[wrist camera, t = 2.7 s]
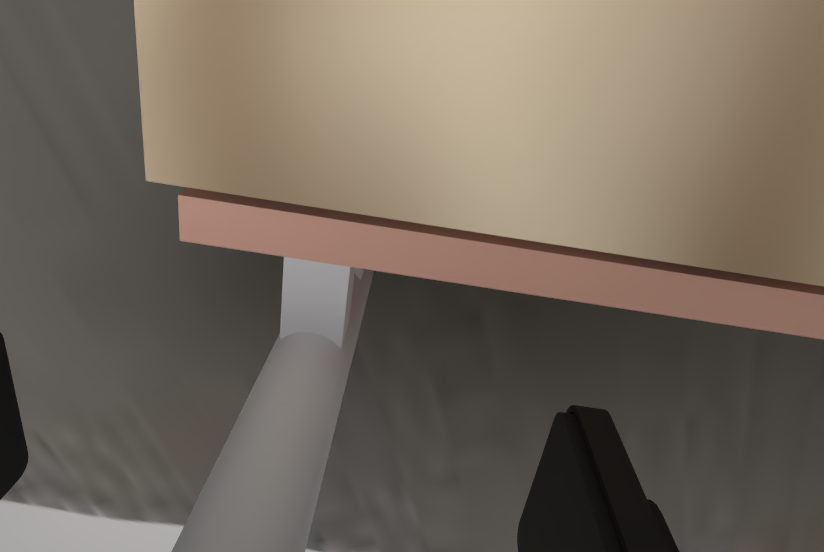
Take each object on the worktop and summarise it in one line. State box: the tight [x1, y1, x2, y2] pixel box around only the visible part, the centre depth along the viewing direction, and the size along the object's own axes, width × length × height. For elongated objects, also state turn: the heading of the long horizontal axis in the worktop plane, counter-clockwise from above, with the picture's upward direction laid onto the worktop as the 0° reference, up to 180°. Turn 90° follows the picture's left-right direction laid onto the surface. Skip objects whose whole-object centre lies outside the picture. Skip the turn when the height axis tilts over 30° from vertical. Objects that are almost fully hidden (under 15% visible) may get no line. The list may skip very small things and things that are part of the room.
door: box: [172, 188, 824, 552], centre depth 12 cm, size 20×4×15 cm, turn 81°
